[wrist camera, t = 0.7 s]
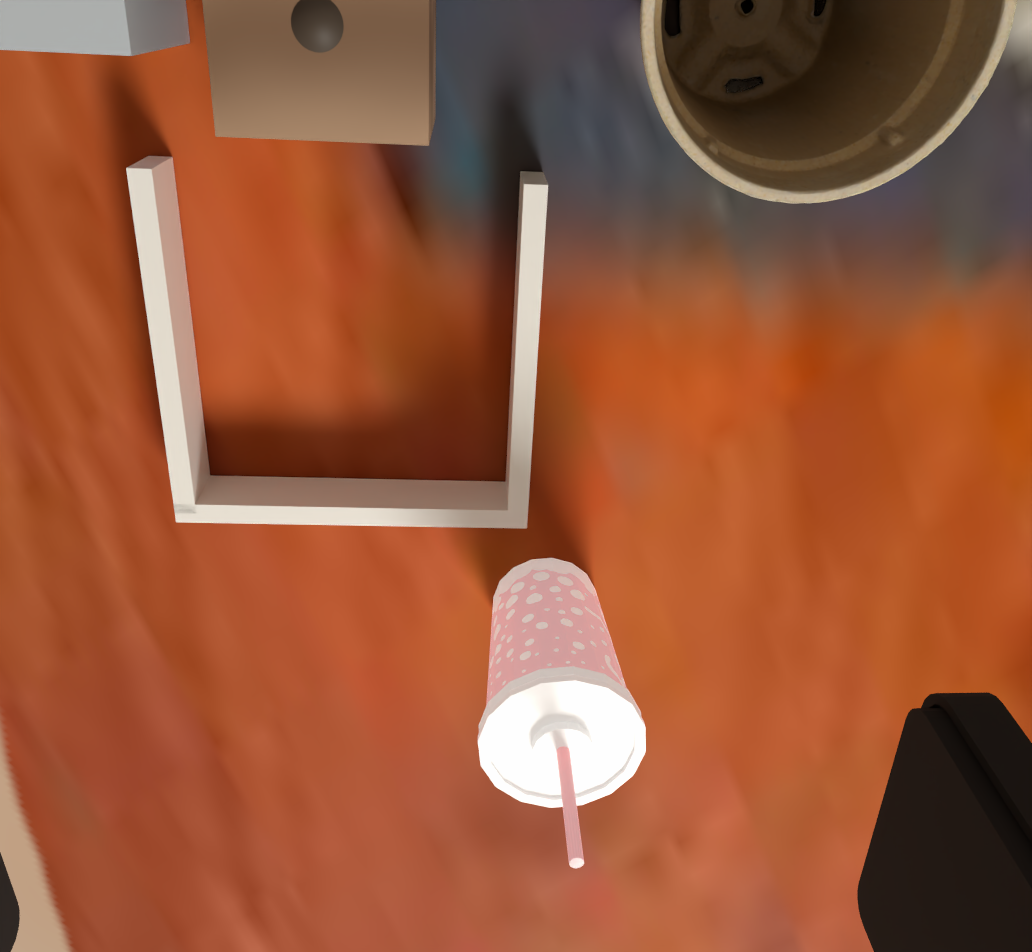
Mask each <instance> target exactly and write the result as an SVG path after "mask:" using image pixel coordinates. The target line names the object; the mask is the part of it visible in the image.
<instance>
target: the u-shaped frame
mask: <svg viewBox="0 0 1032 952" xmlns="http://www.w3.org/2000/svg"><path fill="white" fill-rule="evenodd" d="M126 171H127V178H128V185H129V192H130V199H131V207H132V214H133V221H134V228H135V235H136V242H137V249H138V256H139V263H140V270H141V277H142V284H143V291H144V298H145V305H146V313H147V320H148V327H149V334H150V341H151V348H152V355H153V362H154V369H155V376H156V383H157V390H158V397H159V404H160V411H161V418H162V426H163V433H164V440H165V447H166V454H167V461H168V468H169V475H170V482H171V489H172V496H173V503H174V510H175V517H176V522H190V523H246V524H302V525H358V526H414V527H470V528H526V529H527V520H528V504H529V488H530V471H531V455H532V439H533V422H534V406H535V390H536V374H537V357H538V341H539V325H540V308H541V292H542V276H543V259H544V243H545V227H546V210H547V194H548V184H547V181H546V178H545V176H544V173H543V172H530V171H520V189H519V210H518V231H517V252H516V273H515V294H514V315H513V336H512V357H511V378H510V399H509V420H508V441H507V462H506V482H500V481H452V480H404V479H356V478H308V477H260V476H213V475H210V469H209V460H208V452H207V443H206V435H205V427H204V418H203V410H202V401H201V393H200V384H199V376H198V368H197V359H196V351H195V342H194V334H193V325H192V317H191V309H190V300H189V292H188V283H187V275H186V266H185V258H184V250H183V241H182V233H181V224H180V216H179V207H178V199H177V191H176V182H175V174H174V165H173V157H166V156H147V157H146V158H144V159H142V160H140V161H138V162H136V163H134V164H133V165H131V166H129V167H127V168H126Z"/></svg>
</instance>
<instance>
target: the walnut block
mask: <svg viewBox="0 0 1032 952" xmlns="http://www.w3.org/2000/svg"><path fill="white" fill-rule="evenodd" d="M202 2H203V13H204V23H205V33H206V43H207V54H208V64H209V74H210V84H211V95H212V105H213V115H214V125H215V136H216V137H238V138H262V139H286V140H309V141H333V142H356V143H380V144H404V145H427V146H429V142H430V138H431V134H432V130H433V126H434V122H435V76H436V0H202Z"/></svg>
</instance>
